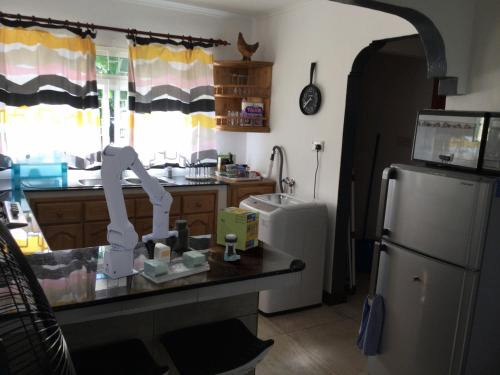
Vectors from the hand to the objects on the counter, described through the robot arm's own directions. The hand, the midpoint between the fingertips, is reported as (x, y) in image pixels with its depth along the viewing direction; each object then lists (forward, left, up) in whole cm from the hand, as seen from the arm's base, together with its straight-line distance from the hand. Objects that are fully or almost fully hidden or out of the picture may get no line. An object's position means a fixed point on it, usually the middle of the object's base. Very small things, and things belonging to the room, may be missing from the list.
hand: (160, 257), depth 158 cm
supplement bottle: (+15, +8, -2) cm, 17 cm away
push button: (+23, -15, -2) cm, 28 cm away
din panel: (-2, -13, -1) cm, 13 cm away
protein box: (+39, -1, -2) cm, 39 cm away
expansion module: (0, 0, -2) cm, 2 cm away
